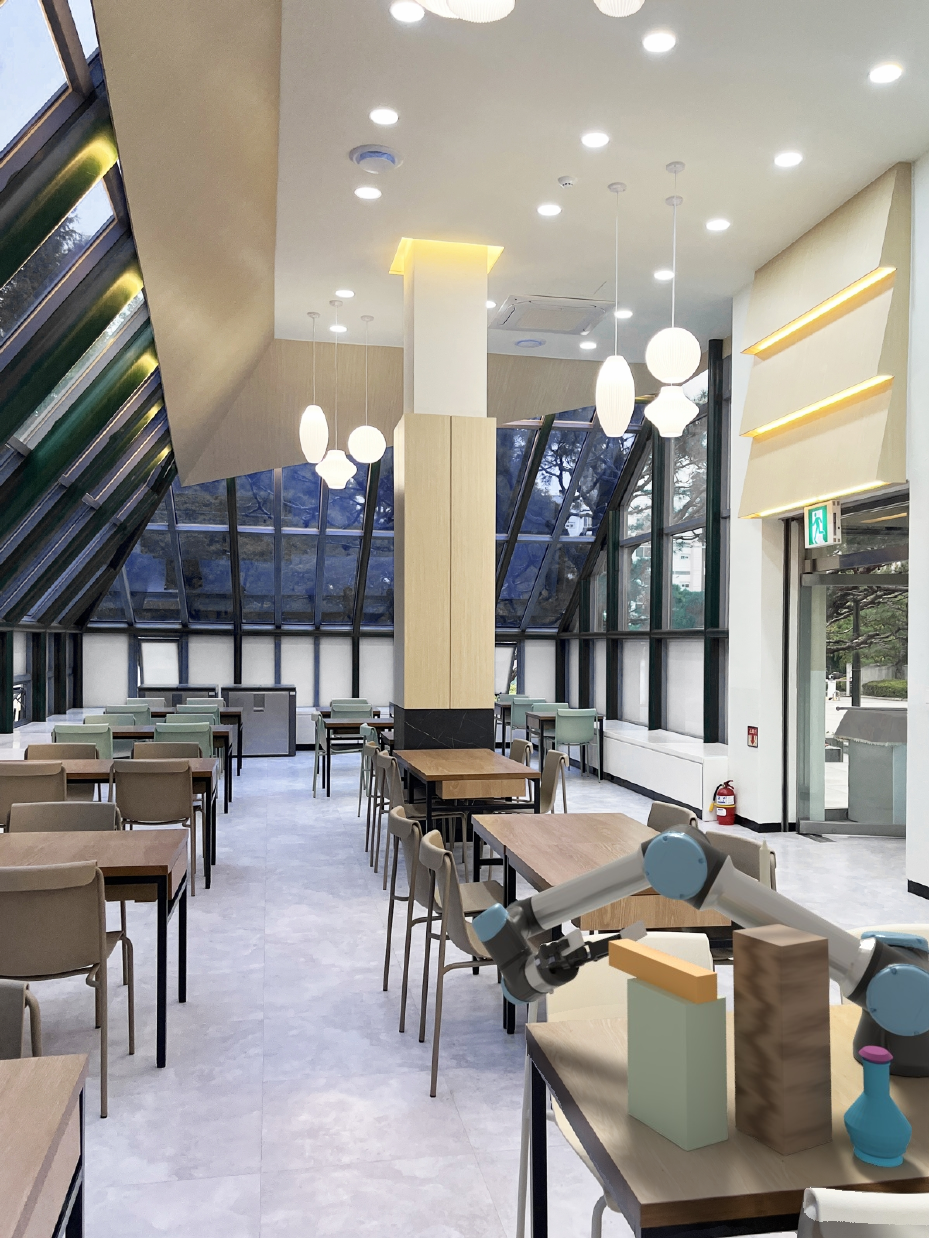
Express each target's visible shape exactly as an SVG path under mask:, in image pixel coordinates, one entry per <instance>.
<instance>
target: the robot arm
mask: <svg viewBox="0 0 929 1238" xmlns="http://www.w3.org/2000/svg"><path fill="white" fill-rule="evenodd" d="M651 887H652V888H653V890H654V891H655V892H656V893H658V894H659V895H660V896H662V897H665V898H667V899H669V900H674V901H682V902H684V903H685V904H687V905H689V906H691V907H692V908H694V909H696V910H697V911H699V912H703V911H707V910H714V911H716V912H718V913H719V914H721V915H723V916H724V917H726V918H727V919H729V920H731V921H732V922H735V923H736V924H738V926H741V927H742V928H743V929H748V928H755V927H761V926H768V925H774V924H781V925H784V926H787V927H791V928H794V929H798V930H801V931H804V932H808V933H811V934H815V935H818V936H821V937H825V938H828V954H829V980H832V981H834V982H835V983H837V984H838V986H839V989H840V992H841V993H842V994H841V995H842V997H844V998H845V999H847V1000H849V1001H850V1002H852V1003H853V1004H855V1005H856V1006H858V1007H860V1008H861V1014H860V1015H861V1016H860V1018H859V1021H858V1025H857V1028H856V1031H855V1034H854V1037H853V1038H852V1055H853V1057H854V1058H855V1059H856V1061H858V1062H859V1063H860V1064H862V1065H863V1061H862V1056H861V1055H860V1054H859V1051H860V1050H861V1049H862V1048H863V1047H865V1046H877V1047H881V1048H884V1049H886V1050H887V1051H888V1052H889V1053H890V1054H891V1055H892V1056H893V1059H891V1060H890V1065H889V1075H890V1074H891V1075H894V1076H895V1075H897V1076H903V1077H915V1078H916V1077H917V1078H918V1077H929V941H928V940H927V939H926V938H925V937H923V936H921V935H917V934H912V933H905V932H898V931H897V932H896V931H886V930H868V931H864V932H862V934H861V935H860V939H859V938H858V937H856V936H855V935H853V934H851V933H849V932H847V931H846V930H844V929H842V928H841V927H839V926H837V925H835V924H834V923H832V922H830V921H828V920H826V919H825V918H823V917H822V916H820V915H818V914H817V913H814V912H813V911H811V910H809V909H807V908H806V907H804V906H803V905H801V904H798V903H797V902H795V901H793V900H791V899H790V898H788V897H786V896H784V895H783V894H781V893H779V892H778V891H776V890H774V889H773V888H772V887H771V888H769V887H767V886H765V885H764V884H762V883H760V881H758V880H757V879H755V878H754V877H751V876H749V875H748V874H746V873H744V872H743V871H741V870H739V869H737V867H735V866H734V864H733V861H732V858H731V855H729V854H728V853H726V852H724V851H722V850H720V849H719V848H717V847H715V846H714V845H713V844H712V842H711V840H710V838H709V837H708V835H707V834H706V833H705V832H704V831H702V830H701V829H700V828H698V827H697V826H694V825H691V824H685V823H679V824H675V825H671V826H669V827H667V828H666V829H664V830H663V831H662V832H660V833H658V834H657V835H655V836H654V837H652V838H649V839H647V840H645V841H643V842H641V843H640V844H639V846H638V849H636V850H635V851H633V852H631V853H627V854H625V855H624V856H621V857H619V858H616V859H614V860H612V861H610V862H607V863H605V864H603V865H600V866H597V867H596V868H593V869H591V870H589V871H586V872H584V873H582V874H579V875H578V876H575V877H573V878H570V879H568V880H565V881H563V882H561V883H559V884H556V885H554V886H551V887H549V888H547V889H545V890H543V891H540V892H538V893H535V894H533V895H532V896H529V897H527V898H524V899H523V898H522V899H519V900H515V901H513V902H511V903H510V904H509V905H508V906H507V907H506V908H505V907H504V906H503V904H502V903H498V902H497V903H495V904H492V905H491V907H489V908H488V909H486V910H484V911H483V912H482V913H480V914H479V915H478V916H476V917H475V918H474V919H473V920H472V922H471V927H472V929H473V930H474V932H475V934H476V936H477V938H478V940H479V942H480V943H481V944H482V945H483V947H484V948H485V950H486V952H487V953H488V955H489V956H490V957H491V959H492V960H493V962H494V963H495V965H496V967H497V968H498V970H499V972H500V974H501V975H502V977H501V980H500V985H501V990H502V991H501V993H502V994H503V996H504V997H505V999H506V1000H507V1001H508V1002H510V1003H512V1005H516V1006H525V1005H527V1004H531V1003H534V1002H535V1001H537V1000H538V999H540V998H542V997H544V996H546V995H547V994H549V995H553V994H554V993H555V990H556V989H558V988H560V987H561V986H564V985H566V984H568V983H569V982H572V981H574V980H575V978H576V977H577V976H578V974H579V972H580V971H579V970H580V967H584V966H585V964H588V963H590V962H593V963H594V962H596V963H597V962H598V961H600V960H602V959H605V958H607V957H609V941H614V940H621V939H630V940H632V941H635V942H637V941H639V940H640V939H643V938H644V937H647V936H648V932H647V929H646V926H645V923H644V920H643V919H639V920H637V921H635V922H634V923H632V924H630V925H628V926H627V927H621V928H620V929H621V930H620V931H619V933H616V934H613V935H610V936H607V937H604V938H602V939H599V940H595V941H591V940H587V941H584V937H583V934H582V931H581V928H575V929H574V930H572V931H570V932H569V933H568V934H566V935H564V936H562V937H561V938H559V939H558V940H557V941H551V942H550V943H549V944H547V943H542V944H540V945H539V948H538V950H537V951H535V952H534V951H533V950H532V948H531V946H530V945H529V943H528V942H527V939H530V938H531V937H534V936H537V935H539V934H541V933H543V932H546V931H547V930H550V929H552V928H554V927H557V926H559V925H562V924H564V923H566V922H569V921H572V920H574V919H576V918H579V917H581V916H584V915H585V914H589V913H591V912H593V911H595V910H598V909H601V908H603V907H605V906H608V905H610V904H613V903H615V902H618V901H619V900H622V899H624V898H627V897H630V896H632V895H635V894H636V893H639V892H642V891H644V890H647V889H648V888H651ZM586 947H588V950H589V951H588V950H587V948H586Z"/></svg>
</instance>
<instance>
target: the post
mask: <svg viewBox="0 0 929 1238" xmlns="http://www.w3.org/2000/svg"><path fill="white" fill-rule="evenodd" d="M732 961H733V962H732V963H733V964H732V968H733V970H732V972H733V975H732V976H733V1044H734V1045H733V1046H734V1047H733V1055H734V1060H733V1061H734V1120H735V1121H734V1125H735V1128H736V1129H737V1130H739V1131H741V1132H743V1133H744V1134H746V1135H748V1136H750V1137H752V1138H753V1139H755V1140H757V1141H758V1142H760V1143H762V1144H763V1145H766V1146H768V1147H769V1148H771V1149H773V1151H776V1152H778V1153H780V1154H782V1155H783V1156H789V1155H791V1154H794V1153H795V1154H796V1153H797V1152H801V1151H804V1150H807V1149H810V1148H814V1147H816V1146H819V1145H824V1144H826V1143H829V1142H832V1141H833V1113H832V1112H833V1107H832V1106H833V1105H832V1063H831V1061H832V1060H831V1058H832V1057H831V1013H830V1010H831V1009H830V1005H831V1003H830V978H829V954H828V938H825V937H821V936H818V935H815V934H811V933H808V932H804V931H801V930H798V929H794V928H791V927H787V926H784V925H781V924H774V925H768V926H761V927H755V928H748V929H746V928H743V929H736V930H732Z"/></svg>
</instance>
